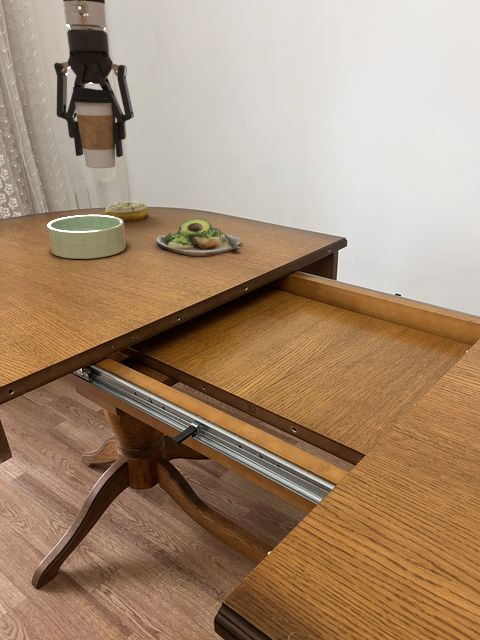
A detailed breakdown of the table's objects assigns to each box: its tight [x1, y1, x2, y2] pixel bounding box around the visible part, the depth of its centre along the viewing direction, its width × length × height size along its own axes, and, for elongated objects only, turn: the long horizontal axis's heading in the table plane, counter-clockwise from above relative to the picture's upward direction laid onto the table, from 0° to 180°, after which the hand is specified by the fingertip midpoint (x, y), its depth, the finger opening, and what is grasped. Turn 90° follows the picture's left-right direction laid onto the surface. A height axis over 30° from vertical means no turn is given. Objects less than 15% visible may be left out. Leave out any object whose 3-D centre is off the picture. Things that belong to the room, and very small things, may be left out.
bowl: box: [47, 214, 127, 260], centre depth 115 cm, size 15×15×6 cm
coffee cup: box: [71, 86, 116, 169], centre depth 111 cm, size 8×8×15 cm
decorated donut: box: [105, 201, 149, 222], centre depth 144 cm, size 10×11×4 cm
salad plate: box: [155, 218, 241, 257], centre depth 120 cm, size 19×18×5 cm
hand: (99, 155), depth 114 cm, fingers closed on coffee cup, 8 cm apart
